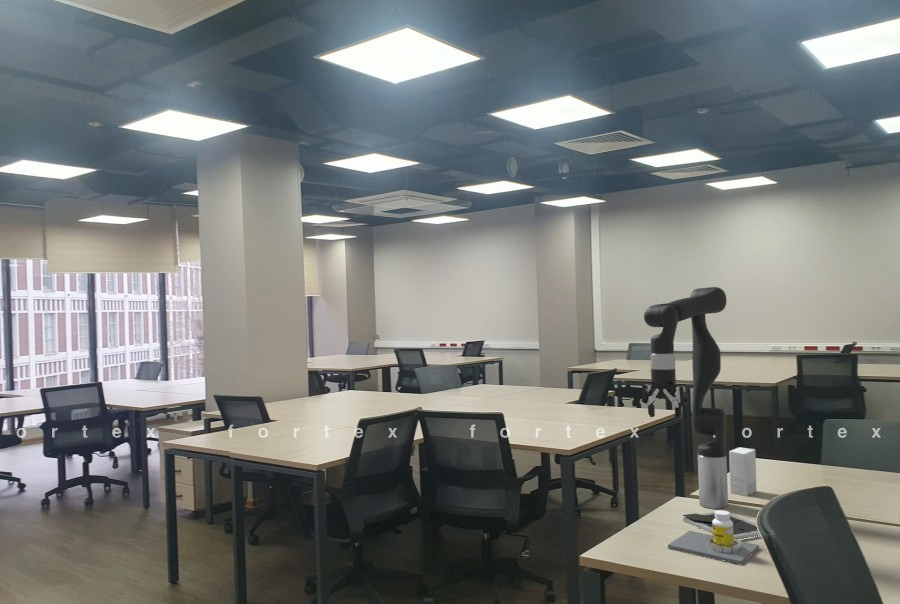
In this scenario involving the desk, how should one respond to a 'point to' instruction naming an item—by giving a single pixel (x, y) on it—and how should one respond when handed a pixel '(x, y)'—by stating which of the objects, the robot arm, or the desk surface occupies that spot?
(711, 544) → the steel ring collar
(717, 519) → the supplement bottle
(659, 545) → the desk surface
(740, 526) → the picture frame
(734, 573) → the desk surface
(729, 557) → the grey flat rectangular slab
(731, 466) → the skincare box
